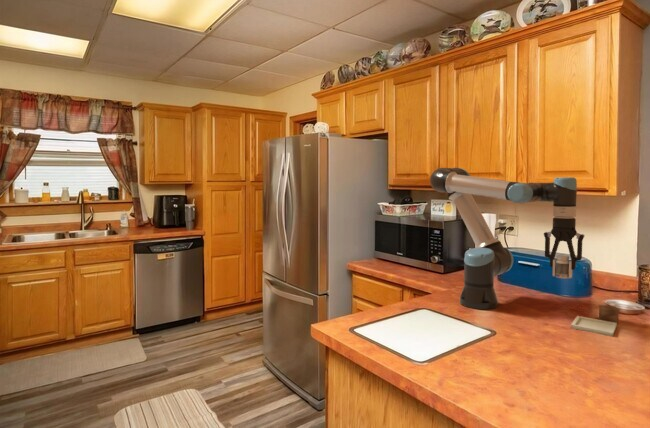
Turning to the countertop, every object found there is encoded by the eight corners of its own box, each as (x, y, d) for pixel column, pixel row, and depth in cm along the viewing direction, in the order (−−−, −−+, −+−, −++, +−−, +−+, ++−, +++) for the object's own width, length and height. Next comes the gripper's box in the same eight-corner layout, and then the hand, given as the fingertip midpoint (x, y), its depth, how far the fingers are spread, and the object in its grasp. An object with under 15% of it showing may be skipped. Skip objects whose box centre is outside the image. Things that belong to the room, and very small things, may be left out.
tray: (570, 328, 136) (570, 324, 136) (577, 318, 145) (577, 315, 145) (612, 336, 128) (613, 333, 128) (616, 326, 137) (617, 322, 137)
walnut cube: (601, 322, 142) (601, 308, 142) (598, 317, 146) (599, 304, 146) (618, 324, 140) (618, 310, 139) (615, 319, 144) (615, 306, 144)
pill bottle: (571, 279, 148) (572, 257, 148) (557, 278, 149) (558, 257, 149) (566, 276, 153) (567, 255, 152) (553, 275, 154) (553, 254, 153)
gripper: (536, 217, 152) (534, 275, 154) (590, 219, 141) (587, 282, 142) (541, 215, 158) (539, 271, 160) (593, 217, 146) (591, 278, 148)
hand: (562, 276), depth 151 cm, fingers closed on pill bottle, 5 cm apart
